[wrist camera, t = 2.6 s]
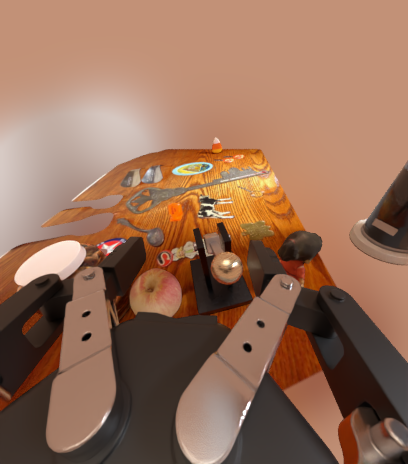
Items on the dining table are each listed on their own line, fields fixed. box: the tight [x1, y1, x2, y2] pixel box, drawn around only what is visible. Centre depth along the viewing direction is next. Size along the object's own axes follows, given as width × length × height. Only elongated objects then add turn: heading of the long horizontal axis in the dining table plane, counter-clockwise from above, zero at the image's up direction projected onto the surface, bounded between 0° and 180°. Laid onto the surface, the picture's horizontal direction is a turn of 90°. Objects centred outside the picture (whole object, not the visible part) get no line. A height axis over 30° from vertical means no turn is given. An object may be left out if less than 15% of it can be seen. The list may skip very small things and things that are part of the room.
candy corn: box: [212, 138, 222, 153], centre depth 93 cm, size 6×3×8 cm, turn 91°
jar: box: [15, 241, 132, 321], centre depth 29 cm, size 12×12×15 cm
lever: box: [203, 232, 243, 285], centre depth 21 cm, size 13×3×3 cm, turn 11°
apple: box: [130, 268, 182, 317], centre depth 29 cm, size 9×9×8 cm
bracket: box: [190, 222, 253, 315], centre depth 29 cm, size 12×10×14 cm
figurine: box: [278, 231, 322, 287], centre depth 28 cm, size 6×6×12 cm
